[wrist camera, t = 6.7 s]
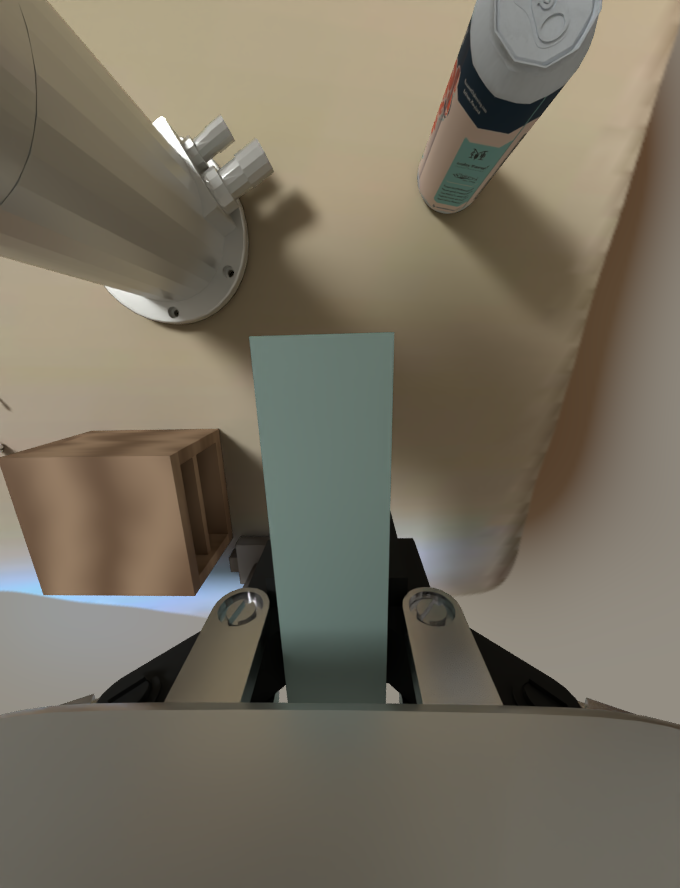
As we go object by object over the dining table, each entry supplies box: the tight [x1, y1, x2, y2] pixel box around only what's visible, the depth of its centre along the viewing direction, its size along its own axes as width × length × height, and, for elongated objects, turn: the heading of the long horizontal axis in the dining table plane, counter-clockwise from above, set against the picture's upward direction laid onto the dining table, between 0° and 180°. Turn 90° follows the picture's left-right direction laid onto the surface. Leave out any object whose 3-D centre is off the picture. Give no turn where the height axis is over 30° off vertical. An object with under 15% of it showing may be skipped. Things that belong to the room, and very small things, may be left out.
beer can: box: [417, 0, 602, 214], centre depth 17 cm, size 5×5×12 cm
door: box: [249, 332, 394, 704], centre depth 11 cm, size 4×16×10 cm, turn 1°
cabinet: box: [0, 429, 270, 596], centre depth 25 cm, size 17×16×12 cm
